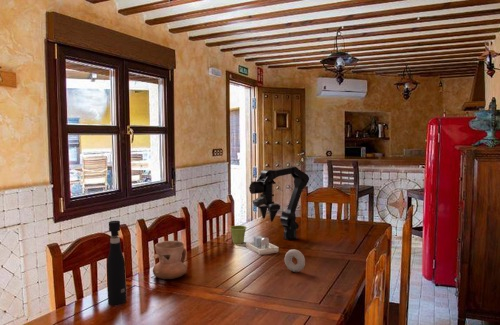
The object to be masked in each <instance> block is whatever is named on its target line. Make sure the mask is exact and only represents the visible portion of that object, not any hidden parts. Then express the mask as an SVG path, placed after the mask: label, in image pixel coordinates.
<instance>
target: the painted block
mask: <svg viewBox="0 0 500 325" xmlns="http://www.w3.org/2000/svg"><path fill="white" fill-rule="evenodd" d="M261 238H264V236H261V235H258V236H253V242H254V246H255V247H257V248H260V247H261Z"/></svg>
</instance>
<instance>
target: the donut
mask: <svg viewBox="0 0 500 325" xmlns="http://www.w3.org/2000/svg"><path fill="white" fill-rule="evenodd" d="M293 258H295V259H296V261H297V263H294V262H293ZM284 264H285V267H287V269H288V270H289V271H291V272H294V273H298V272H301V271H302V270H304V268H305V265H306V258H305V255H304V254H303V253H302V252H301V251H300V250H298V249H294V248H293V249H289V250H288V251H287V252H286V253H285V255H284Z"/></svg>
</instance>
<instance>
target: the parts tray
mask: <svg viewBox="0 0 500 325" xmlns="http://www.w3.org/2000/svg"><path fill="white" fill-rule="evenodd" d="M245 248H247V249H248V250H250V251H252V252H254V253H255V254H257V255H259V256H262V255H270V254H275V253H279V248H280V247H279V246H277V245H275V244H274V243H273V244H272V243H270V242H269V248H267V249H261V247H260V248H257V247H255V246H254V241H250V242H249V241H248V242H246V243H245Z"/></svg>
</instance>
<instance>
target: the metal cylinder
mask: <svg viewBox="0 0 500 325" xmlns="http://www.w3.org/2000/svg"><path fill="white" fill-rule="evenodd" d="M269 243H270V239H269V237H264V236H263V238H261V249H267V248H269Z"/></svg>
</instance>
